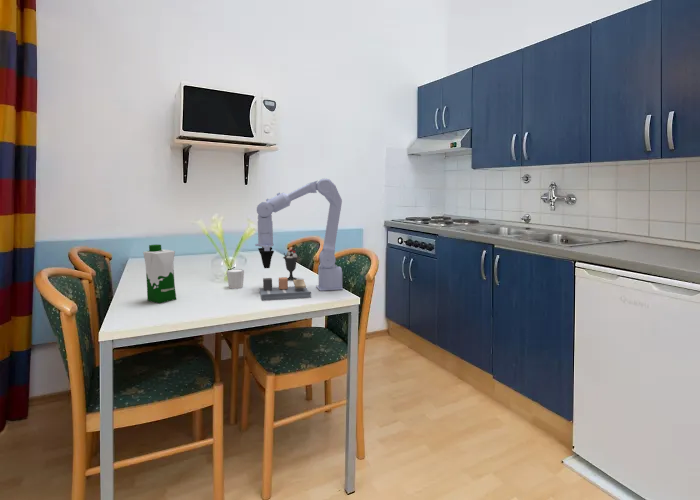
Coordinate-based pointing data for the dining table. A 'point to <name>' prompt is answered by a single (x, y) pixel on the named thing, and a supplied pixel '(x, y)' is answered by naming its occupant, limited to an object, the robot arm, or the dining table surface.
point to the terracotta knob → (283, 283)
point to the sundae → (291, 262)
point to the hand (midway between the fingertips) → (266, 266)
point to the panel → (284, 293)
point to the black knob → (267, 283)
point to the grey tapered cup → (235, 278)
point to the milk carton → (159, 274)
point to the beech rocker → (299, 283)
